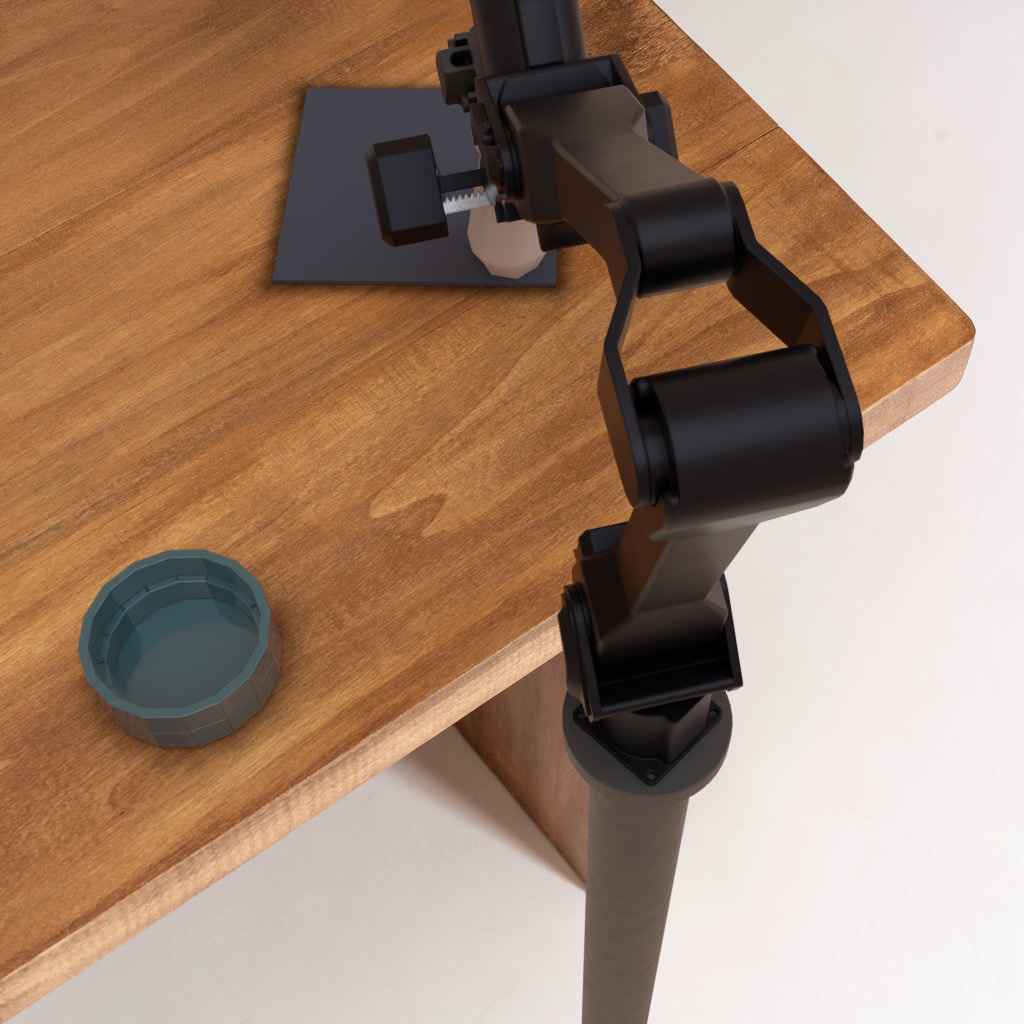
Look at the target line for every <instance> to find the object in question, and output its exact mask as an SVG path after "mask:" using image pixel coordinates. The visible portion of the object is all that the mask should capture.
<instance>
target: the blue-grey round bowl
mask: <svg viewBox="0 0 1024 1024" xmlns="http://www.w3.org/2000/svg"><path fill="white" fill-rule="evenodd" d="M94 597H95V598H94V599H93V600H92V602H91V604H90V605H89V607H88V608H87V610H86V612H85V613H84V614H83V617H82V622H81V623H82V624H81V628H80V634H79V639H78V645H77V653H78V657H79V660H80V664H81V667H82V671H83V675H84V678H85V681H86V683H87V684H88V686H89V688H90V689H91V690H92V692H93V694H94V695H95V697H96V699H97V700H98V702H99V703H100V705H101V706H102V708H103V710H104V711H105V713H106V714H107V715H108V716H109V717H110V718H111V719H112V720H113V721H114V722H115V723H116V724H117V725H118V726H119V728H121V729H122V730H123V732H124V733H126V735H128V736H129V737H132V738H134V739H137V740H140V741H142V742H145V743H148V744H150V745H152V746H155V747H158V748H198V747H201V746H203V745H206V744H208V743H211V742H214V741H216V740H219V739H221V738H224V737H227V736H230V735H232V734H234V733H235V732H236V731H238V730H239V729H240V728H242V726H243V725H245V724H246V723H247V722H248V721H249V720H251V719H252V718H253V717H254V716H255V715H256V714H257V713H259V711H261V710H262V709H263V708H264V706H265V704H266V703H267V701H268V699H269V697H270V695H271V693H272V692H273V690H274V689H275V687H276V685H277V683H278V682H279V681H278V680H279V679H280V677H281V667H282V657H283V640H282V638H281V635H280V632H279V630H278V627H277V624H276V621H275V618H274V615H273V613H272V609H271V607H270V605H269V603H268V599H267V597H266V594H265V591H264V589H263V586H262V584H261V583H260V581H259V580H258V579H257V578H256V576H254V575H253V574H252V573H251V572H250V571H249V570H247V569H246V567H245V566H243V565H242V564H241V563H240V562H239V561H237V560H236V559H233V558H230V557H227V556H225V555H222V554H219V553H216V552H214V551H210V550H207V549H203V548H201V549H200V548H199V549H166V550H164V551H161V552H159V553H156V554H153V555H150V556H147V557H144V558H141V559H139V560H136V561H133V562H132V563H130V564H129V565H128V566H126V567H125V568H124V569H123V570H121V571H119V572H118V574H116V575H115V576H113V577H112V578H111V579H110V580H108V581H107V582H106V583H105V584H103V586H101V588H100V589H99V591H98V592H97V594H96V596H94Z"/></svg>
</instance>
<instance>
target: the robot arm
mask: <svg viewBox="0 0 1024 1024" xmlns="http://www.w3.org/2000/svg"><path fill="white" fill-rule="evenodd" d="M469 6H470V11H471V16H472V22H473V26H472V27H470V29H469V30H468V31H465V32H459V33H454V34H453V38H448V39H447V41H446V42H447V43H446V44H447V48H444V49H439V50H437V51H436V53H435V66H436V72H437V76H438V80H439V86H440V88H441V90H442V94H443V98H444V102H445V104H446V105H453V104H459V105H461V106H462V109H463V112H464V113H467V112H470V114H471V124H470V127H471V132H472V137H473V143H474V145H475V146H477V145H478V147H479V150H480V154H481V158H480V164H479V169H476V170H471V171H465V172H460V173H455V174H450V175H445V176H441V174H440V171H439V169H438V166H437V164H436V160H435V156H434V151H433V147H432V143H431V139H430V137H429V136H428V134H423V135H418V136H413V137H407V138H402V139H397V140H391V141H386V142H381V143H375V144H373V145H372V146H371V148H370V150H369V151H368V153H367V154H366V156H365V160H366V165H367V170H368V175H369V180H370V185H371V189H372V194H373V199H374V204H375V209H376V214H377V219H378V224H379V228H380V233H381V238H382V240H383V241H384V242H386V243H387V244H389V245H390V246H392V247H398V246H403V245H408V244H414V243H419V242H424V241H429V240H434V239H439V238H444V237H448V235H449V228H448V216H447V214H450V213H455V212H460V211H466V210H471V209H476V208H481V207H486V206H491V205H494V210H495V215H496V221H497V223H502V222H506V223H507V222H513V221H518V220H523V219H524V220H525V221H527V222H530V223H534V224H536V228H537V234H538V240H539V245H540V249H541V251H542V252H548V251H553V250H557V251H558V250H563V249H569V248H574V247H578V246H585V245H590V246H591V247H592V248H593V250H594V251H595V252H596V253H597V254H598V255H599V256H600V257H601V258H602V259H603V260H604V261H605V263H606V268H607V270H608V275H609V278H610V282H611V287H612V290H613V293H614V296H615V300H616V304H615V307H614V309H613V311H612V312H613V313H612V315H611V319H610V322H609V325H608V327H607V328H608V329H607V331H606V335H605V338H604V341H603V347H602V353H601V358H600V365H599V371H598V377H597V383H596V394H597V398H598V401H599V405H600V409H601V413H602V416H603V420H604V424H605V427H606V431H607V435H608V438H609V442H610V445H611V449H612V453H613V457H614V459H615V463H616V467H617V471H618V475H619V478H620V481H621V484H622V488H623V491H624V494H625V497H626V499H627V502H628V503H629V505H630V506H631V507H632V508H633V509H632V511H631V514H630V515H629V518H628V520H627V521H622V522H617V523H613V524H608V525H603V526H598V527H594V528H588V529H585V530H584V531H583V532H582V533H581V534H580V535H579V536H578V538H577V548H573V549H572V551H573V555H574V558H575V563H574V564H573V565H572V567H571V582H572V583H569V584H565V585H563V587H562V589H563V590H562V592H563V593H560V599H561V608H560V609H559V611H558V612H557V614H556V618H557V624H558V630H559V636H560V643H561V648H562V654H563V655H562V656H563V661H564V667H565V678H566V679H565V684H566V685H565V686H566V688H567V689H568V692H569V694H570V695H572V696H574V697H576V698H578V699H579V700H580V702H582V703H581V704H580V705H579V706H578V707H577V708H576V709H575V710H574V712H573V721H574V722H575V723H576V724H577V725H578V726H579V727H580V728H581V729H582V730H584V731H585V732H586V733H587V734H588V735H589V736H590V737H592V738H593V739H594V740H595V741H596V742H597V743H598V744H600V745H601V746H602V747H603V748H604V749H605V750H606V751H608V752H609V753H610V754H611V755H612V756H613V757H614V758H616V759H617V760H618V761H619V762H620V763H621V764H623V765H624V766H625V767H626V768H627V769H628V770H629V771H631V772H632V773H633V774H634V775H635V776H636V777H637V778H639V779H640V780H641V781H642V782H643V783H644V784H645V785H647V786H651V787H652V786H655V785H657V784H658V783H659V782H660V781H661V780H662V779H663V778H664V777H665V776H666V775H667V774H668V773H669V772H670V771H671V770H672V769H673V768H674V767H675V766H676V765H677V764H678V763H679V762H680V761H681V760H682V759H683V758H684V757H685V756H686V755H687V754H688V753H689V751H690V750H691V749H692V748H693V747H694V746H695V745H696V744H697V743H698V742H699V741H700V740H701V739H702V738H703V737H704V736H705V735H706V734H707V733H708V732H709V731H710V730H711V729H712V728H713V727H714V726H715V725H716V724H717V723H718V722H719V721H720V720H721V718H722V709H721V708H720V707H719V706H718V705H717V704H716V703H714V702H713V701H712V700H711V695H712V694H713V693H718V692H722V691H726V692H728V693H729V692H733V691H738V690H739V689H741V688H742V687H744V678H743V672H742V666H741V660H740V655H739V648H738V647H739V646H738V641H737V635H736V629H735V628H736V627H735V622H734V616H733V610H732V609H733V608H732V604H731V597H730V592H729V585H728V581H727V578H726V574H725V572H726V571H727V569H728V568H729V567H730V565H731V563H732V562H733V561H734V559H736V556H737V555H738V554H739V552H740V551H741V550H742V548H743V547H744V546H745V544H746V543H747V542H748V540H749V539H750V537H751V536H752V535H753V533H754V532H755V530H756V529H757V528H758V526H759V525H760V524H762V523H764V522H768V521H772V520H776V519H778V518H782V517H785V516H788V515H792V514H796V513H800V512H803V511H807V510H810V509H813V508H817V507H819V506H822V505H824V504H827V503H829V502H831V501H834V500H836V499H839V498H841V497H842V496H843V495H845V494H846V492H847V490H848V489H849V486H850V485H851V483H852V480H853V477H854V472H855V463H857V462H858V461H860V460H861V457H862V454H863V451H864V445H865V444H864V442H865V429H864V422H863V413H862V409H861V406H860V402H859V398H858V395H857V390H856V388H855V386H854V382H853V380H852V377H851V373H850V371H849V368H848V365H847V363H846V362H847V361H846V359H845V357H844V353H843V351H842V348H841V347H842V346H841V345H840V342H839V339H838V336H837V333H836V331H835V328H834V325H833V322H832V319H831V316H830V313H829V310H828V307H827V305H826V304H825V302H824V300H823V299H822V298H821V297H820V296H819V295H818V294H817V293H816V292H815V291H813V289H811V288H810V286H808V285H807V284H806V283H804V282H803V281H802V280H801V279H800V278H799V277H798V276H797V275H796V274H794V272H792V271H791V270H790V269H789V268H788V267H787V266H786V265H784V264H783V263H782V262H781V260H779V259H778V258H777V257H775V256H774V255H773V253H771V252H770V251H769V250H768V249H766V248H765V247H764V246H763V245H762V244H761V243H760V242H759V241H758V240H757V237H756V234H755V232H754V228H753V225H752V223H751V219H750V217H749V216H750V215H749V213H748V210H747V206H746V204H745V201H744V199H743V197H742V194H741V191H740V189H739V187H738V186H737V185H736V184H735V182H734V181H733V180H726V181H718V179H716V178H715V177H713V176H707V177H704V176H703V175H701V174H699V172H696V171H695V170H693V169H692V168H690V167H689V166H687V165H685V164H684V163H683V162H681V161H680V160H679V159H680V158H679V153H678V152H679V151H678V146H677V139H676V134H675V128H674V120H673V114H672V108H671V105H670V103H669V101H668V99H667V97H666V96H665V95H664V94H662V93H661V92H660V91H658V90H653V91H647V92H642V93H640V92H639V91H638V90H637V87H636V86H635V83H634V81H633V80H632V77H631V74H630V73H629V72H628V69H627V68H626V66H625V64H624V62H623V59H622V58H621V56H620V53H619V52H612V53H607V54H601V55H595V56H590V57H589V54H588V49H587V43H586V37H585V30H584V23H583V19H582V13H581V5H580V0H469ZM479 186H483V188H484V190H483V195H482V194H481V193H480V191H477V195H476V196H475V194H474V193H473V192H471V194H470V197H469V196H468V194H467V193H465V194H464V199H463V198H462V196H461V195H458V199H457V200H456V198H455V196H452V199H451V201H450V200H449V198H448V197H446V198H445V193H448V192H453V191H458V190H464V189H469V188H474V187H479ZM719 284H725V285H726V288H727V290H728V291H729V293H730V294H731V296H732V297H733V298H734V299H735V300H736V301H737V302H738V303H739V304H740V305H741V306H742V307H743V308H744V309H745V310H747V311H748V312H749V313H750V314H751V315H752V316H753V317H754V318H755V319H757V321H759V322H760V323H761V324H762V325H763V326H764V327H765V328H766V329H768V330H769V331H770V332H771V334H773V335H774V336H775V337H776V338H777V339H779V341H781V342H782V343H783V344H784V345H785V347H781V348H777V349H772V350H766V351H762V352H761V351H760V352H757V353H756V352H755V353H752V354H746V355H741V356H737V357H732V358H727V359H722V360H717V361H711V362H707V363H702V364H697V365H692V366H688V367H687V366H686V367H682V368H677V369H671V370H667V371H662V372H657V373H652V374H647V375H641V376H638V377H633V378H632V379H631V380H630V382H628V379H627V376H626V372H625V368H624V365H623V361H622V357H621V354H622V349H623V346H624V343H625V340H626V337H627V334H628V331H629V328H630V324H631V321H632V318H633V313H634V309H635V303H636V299H640V300H642V299H647V298H652V297H656V296H657V297H658V296H661V295H662V296H663V295H667V294H672V293H673V294H674V293H677V292H683V291H687V290H688V291H689V290H693V289H697V288H702V287H709V286H713V285H719ZM567 689H566V690H567ZM712 711H715V712H716V713H717V714H718V715H717V716H712V715H710V712H712ZM579 714H584V715H585V718H583V719H580V718H578V717H577V716H578V715H579ZM649 774H652V775H654V776H655V779H653V780H650V779H648V778H647V776H648V775H649Z"/></svg>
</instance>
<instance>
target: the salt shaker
mask: <svg viewBox="0 0 1024 1024" xmlns="http://www.w3.org/2000/svg"><path fill="white" fill-rule="evenodd" d="M471 134H472V132H471ZM472 139H473V137H472ZM474 146H475V145H474ZM475 148H476V150H477V151H478V152H479V153H480V150H479V147H478V145H477V146H475ZM480 158H481V154H480ZM480 158H479V164H480ZM479 164H478V169H479ZM483 190H484V188H483V186H479V187H475V189H474V194H475V196H476V195H477V191H480V193H481V194H482V195H483ZM467 235H468V238H469V242H470V245H471V249H472V252H473V253H474V254H475V255H476V256H477V257H478V258H479V259H480V260H481V261H482V262H483V263H484V265H485V266H486V267H487V269H488V270H489V272H490V273H491V275H495V276H502V277H508V278H514V279H518V278H519V277H521V276H523V275H524V274H526V273H528V272H529V271H531V270H533V269H535V268H536V267H537V266H538V265H539V263H540V262H541V260H542V258H543V257H544V255H545V254H546V252H542V251H541V249H540V245H539V240H538V234H537V228H536V224H534V223H530V222H527V221H525V220H524V219H523V220H518V221H513V222H507V223H506V222H502V223H497V221H496V215H495V210H494V205H491V206H486V207H481V208H476V209H471V213H470V219H469V225H468V231H467Z"/></svg>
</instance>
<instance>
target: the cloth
mask: <svg viewBox="0 0 1024 1024" xmlns="http://www.w3.org/2000/svg"><path fill="white" fill-rule="evenodd" d="M470 124H471V114H470V112H467V113H464V112H463V109H462V106H461V105H459V104H453V105H446V104H445V102H444V98H443V94H442V90H441V87H439V88H438V87H436V88H435V87H307V88H306V93H305V98H304V103H303V108H302V115H301V120H300V125H299V131H298V136H297V142H296V148H295V152H294V159H293V163H292V169H291V174H290V180H289V184H288V185H289V186H288V190H287V196H286V202H285V207H284V213H283V217H282V218H283V219H282V223H281V229H280V235H279V240H278V246H277V251H276V256H275V263H274V267H273V271H272V272H273V273H272V277H271V281H272V283H273V284H300V285H302V284H303V285H305V284H306V285H373V286H374V285H377V286H378V285H382V286H384V285H385V286H448V287H450V286H451V287H452V286H455V287H456V286H458V287H459V286H460V287H462V286H463V287H466V286H467V287H520V288H521V287H523V288H524V287H525V288H526V287H529V288H530V287H531V288H535V287H537V288H556V287H557V268H558V267H557V266H558V265H557V264H558V263H557V262H558V250H553V251H548V252H546V254H545V255H544V257H543V258H542V260H541V262H540V263H539V265H538V266H537V267H536V268H535V269H533V270H531V271H529V272H528V273H526V274H524V275H523V276H521V277H519V278H518V279H514V278H508V277H502V276H495V275H491V273H490V272H489V270H488V269H487V267H486V266H485V265H484V263H483V262H482V261H481V260H480V259H479V258H478V257H477V256H476V255H475V254H474V253H473V252H472V249H471V245H470V242H469V238H468V235H467V231H468V225H469V219H470V213H471V210H466V211H460V212H455V213H450V214H447V216H448V228H449V235H448V237H444V238H439V239H434V240H429V241H424V242H419V243H414V244H408V245H403V246H398V247H392V246H390V245H389V244H387V243H386V242H384V241H383V240H382V238H381V233H380V228H379V224H378V219H377V214H376V209H375V204H374V199H373V194H372V189H371V185H370V180H369V175H368V170H367V165H366V160H365V156H366V154H367V153H368V151H369V150H370V148H371V146H372V145H373V144H375V143H381V142H386V141H391V140H397V139H402V138H407V137H413V136H418V135H423V134H428V136H429V137H430V139H431V143H432V147H433V151H434V156H435V160H436V164H437V166H438V169H439V171H440V174H441V176H445V175H450V174H455V173H460V172H465V171H471V170H476V169H478V164H479V158H480V153H479V152H478V151H477V150H476V148H475V146H474V143H473V139H472V134H471V127H470ZM474 189H475V187H474V188H469V189H464V190H458V191H453V192H448V193H445V198H446V197H448V198H449V200H450V201H451V199H452V196H455V198H456V200H457V199H458V195H461V196H462V198H463V199H464V194H465V193H467V194H468V196H469V197H470V194H471V192H473V193H474Z"/></svg>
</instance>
